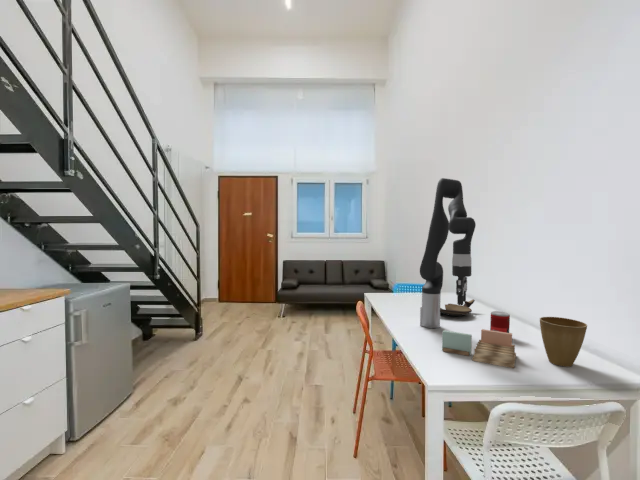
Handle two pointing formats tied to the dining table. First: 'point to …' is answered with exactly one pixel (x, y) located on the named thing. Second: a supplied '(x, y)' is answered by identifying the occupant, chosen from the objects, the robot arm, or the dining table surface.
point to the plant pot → (562, 339)
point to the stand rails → (456, 351)
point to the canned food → (500, 321)
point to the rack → (495, 354)
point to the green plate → (457, 341)
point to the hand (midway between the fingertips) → (461, 303)
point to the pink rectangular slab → (496, 337)
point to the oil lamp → (457, 309)
